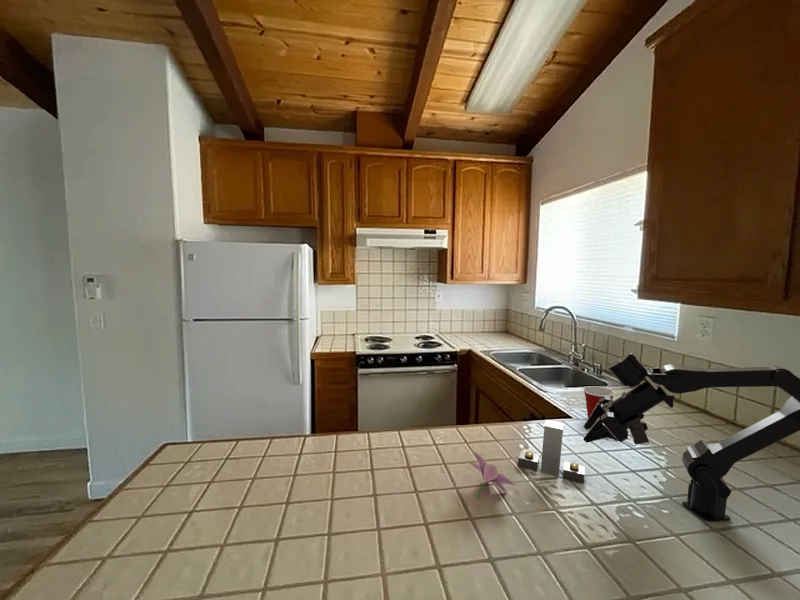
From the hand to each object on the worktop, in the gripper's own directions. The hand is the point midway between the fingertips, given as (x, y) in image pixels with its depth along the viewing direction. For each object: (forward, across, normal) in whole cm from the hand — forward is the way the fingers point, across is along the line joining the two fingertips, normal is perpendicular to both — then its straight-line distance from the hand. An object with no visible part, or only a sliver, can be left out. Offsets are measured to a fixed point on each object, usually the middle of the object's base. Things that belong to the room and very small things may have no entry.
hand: (584, 434), depth 98 cm
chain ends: (+14, 0, -3) cm, 14 cm away
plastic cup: (+6, +50, -12) cm, 52 cm away
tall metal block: (+14, 0, -3) cm, 14 cm away
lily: (+23, -20, +6) cm, 31 cm away
